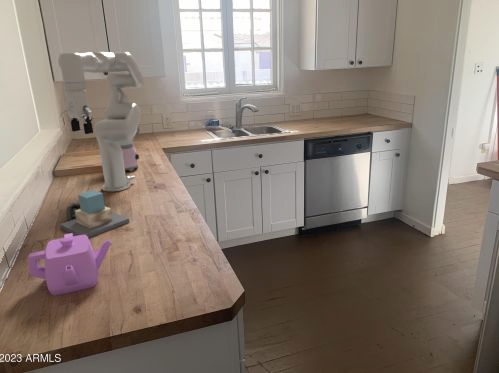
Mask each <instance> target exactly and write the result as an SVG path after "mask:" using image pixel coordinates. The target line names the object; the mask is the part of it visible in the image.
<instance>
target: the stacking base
mask: <svg viewBox="0 0 499 373" xmlns="http://www.w3.org/2000/svg"><path fill="white" fill-rule="evenodd" d="M104 206H105V209H103V210H100V211H97V212H94V213H91V214H88V213H86V212H84V211H81V209H79V210H76V211H75V215H76V219H74V220H67V221H66V222H62V223H60V224H59V227H60V228H61V229H62V230H64V231H66V232H68V233H69V234H70V233H73V236H78V235H87V237H88V239H90V238H91V237H94V236H97V235H100V234H102V233H105V232H108V231H110V230H113V229H115V228H118V227H120V226H123V225H126V224H128V223H130V218H129V217H126V216H124V215H121V214H119V213H117V212H113V211H112V208H111V207H108V206H106V205H104Z"/></svg>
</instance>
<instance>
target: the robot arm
mask: <svg viewBox="0 0 499 373" xmlns="http://www.w3.org/2000/svg"><path fill="white" fill-rule="evenodd" d="M57 62H58V66H59V68H60V71H61V76H62V81H63V88H64V92H65V93H64V94H65V95H64V96H65V97H64V98H65V108H66V109H65V110H66V114H67V116H68V118H69V121H70V126H71V131H72V132H79V131H81V126H80V120H79V119H81V120H82V121H83V123H82V125H83V130H84V134H85V135H88V134H93V133H94V134H95V138H96V140H97V144H98V147H99V154H100V159H101V166H102V172H103V179H104V184H103V185H102V186H101V189H102V190H103V191H104V192H108V193H110V192H113V193H114V192H120V191H124V190H127V189H129V188H130V187H131V183H130V181H133V180H135V179H136V176H135V175H126V170H125V167H124V160H123V152H122V148H121V146H120V145H119V144H118V142H117V141H131V140H132V139H134V138H135V136H136V135H137V134H136V131H137V128H138V125H139V126H140V122H141V112H142V111H141V108H140V106H139V105H138V104H137V103H135V102H130V98H129V96H128V95H127V93H126V92H125V91H124V90H123V89H139V88H141V87H142V86H143V85H144V82H145V81H144V80H145V79H144V75H143V72H142V70H141V69H140V67H139V64H138V63H137V60H136V59H135V58H134V56H133V55H132V54H131V53H130V52H128V51H72V52H71V51H69V52H62V53H61V52H60V54H59V57H58V61H57ZM85 73H90V74H91V73H92V74H98V73H100V74H101V73H107V74H106V75H107V77H106V81H107V87H108V89H109V94H110V98H109V101H108V103H107V105H106V108H105V112H104V119H102V120H99V121H97V122H95V124H94V128H93V111H92V110H91V107H90V102H89V99H88V94H87V86H86V80H85V79H86V78H85ZM135 134H136V135H135ZM132 141H133V140H132Z"/></svg>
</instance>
